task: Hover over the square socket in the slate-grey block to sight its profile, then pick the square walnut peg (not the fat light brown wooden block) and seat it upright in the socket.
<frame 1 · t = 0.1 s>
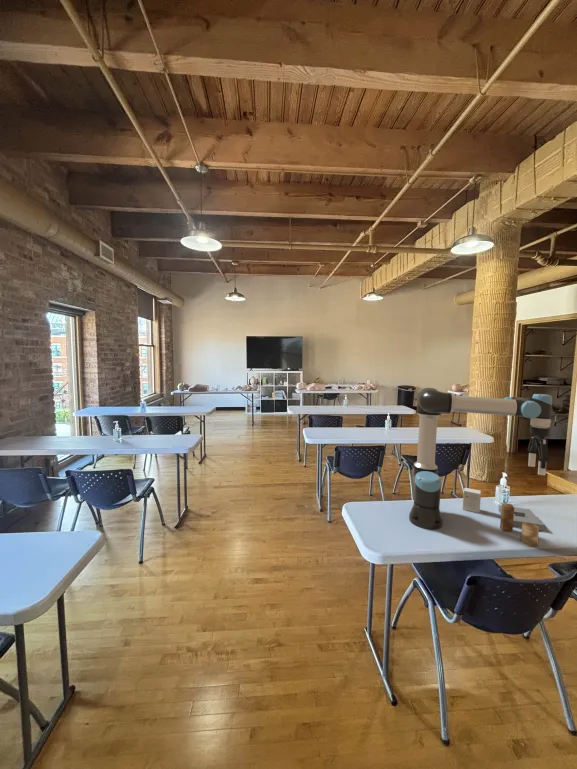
hand: (536, 470, 161), 28 cm above the table, fingers open, 13 cm apart
socket block: (519, 520, 170), on the table
square peg: (506, 529, 159), on the table
light brown wooden block: (529, 543, 148), on the table
small box: (471, 509, 181), on the table
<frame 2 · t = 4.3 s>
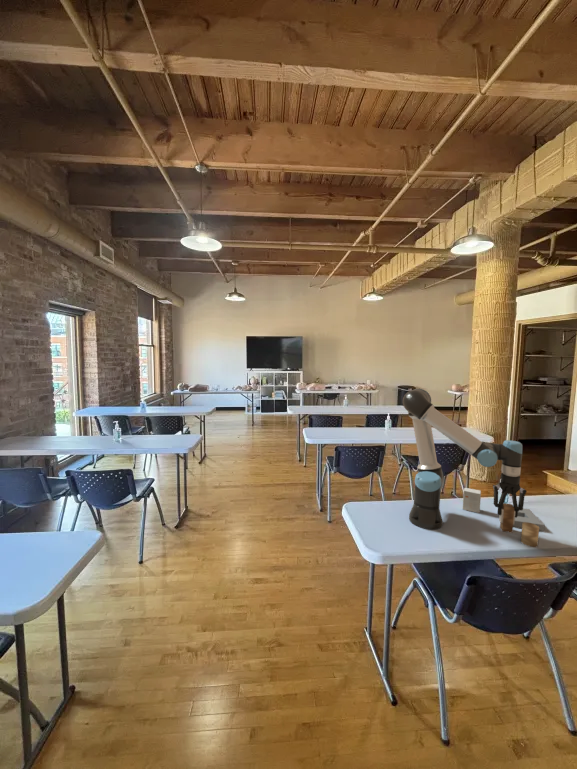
hand: (506, 522, 159), 4 cm above the table, fingers closed on square peg, 4 cm apart
square peg: (506, 529, 159), on the table, touching gripper
everything else where it was.
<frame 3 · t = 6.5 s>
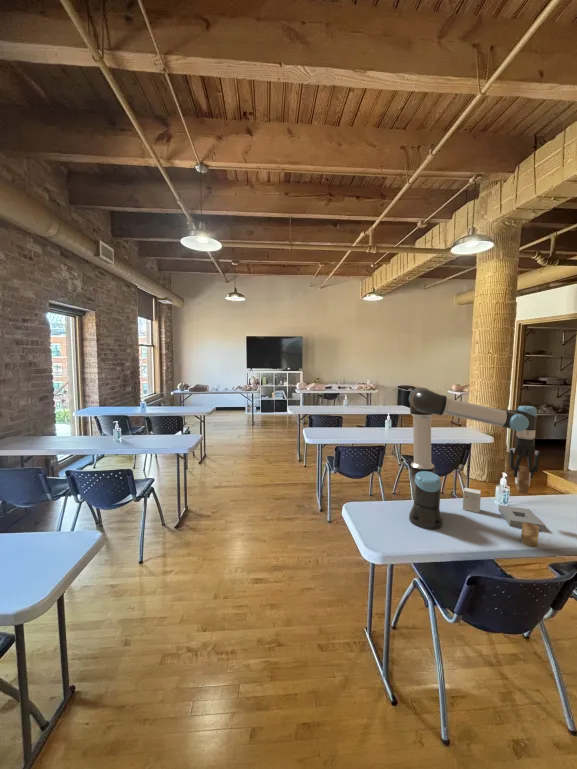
hand: (522, 484, 166), 19 cm above the table, fingers closed on square peg, 4 cm apart
square peg: (521, 491, 167), point 16 cm above the table, touching gripper
everything else where it was.
when the fingers open (5 cm above the table, at t = 9.0 s): square peg drops 1 cm, resting in socket block.
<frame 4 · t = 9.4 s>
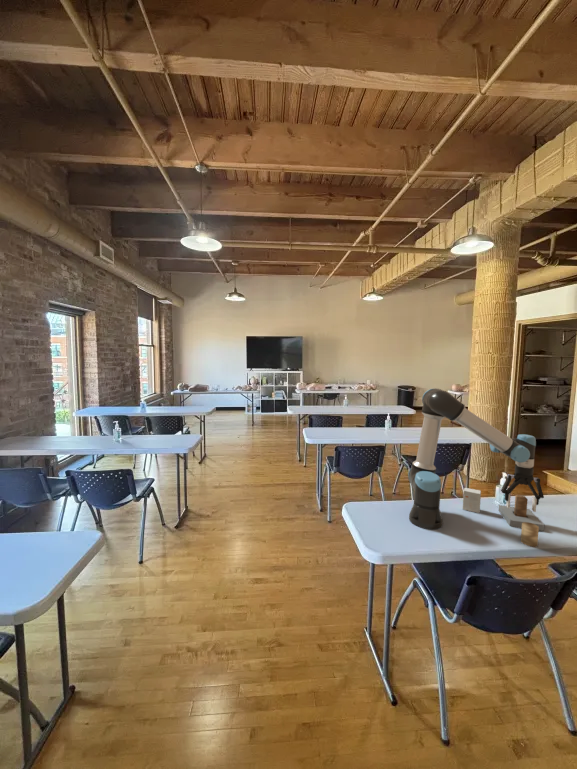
hand: (520, 508, 169), 6 cm above the table, fingers open, 10 cm apart
square peg: (519, 520, 170), resting in socket block
everything else where it was.
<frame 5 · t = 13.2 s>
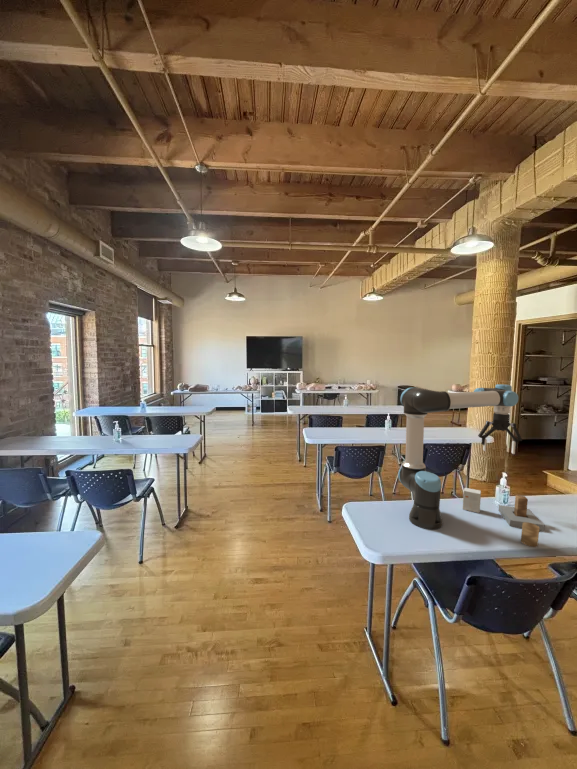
hand: (498, 452, 182), 31 cm above the table, fingers open, 13 cm apart
nothing on the table moved.
at the end: square peg 0.1 cm off-centre on the socket block, point 0.0 cm above the socket block's base; square peg tilted 0°; the gripper is holding nothing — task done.
